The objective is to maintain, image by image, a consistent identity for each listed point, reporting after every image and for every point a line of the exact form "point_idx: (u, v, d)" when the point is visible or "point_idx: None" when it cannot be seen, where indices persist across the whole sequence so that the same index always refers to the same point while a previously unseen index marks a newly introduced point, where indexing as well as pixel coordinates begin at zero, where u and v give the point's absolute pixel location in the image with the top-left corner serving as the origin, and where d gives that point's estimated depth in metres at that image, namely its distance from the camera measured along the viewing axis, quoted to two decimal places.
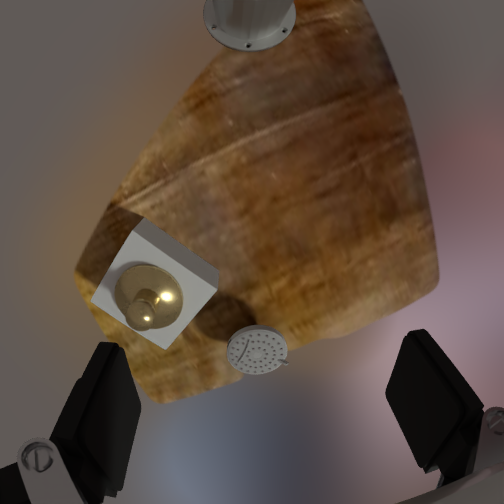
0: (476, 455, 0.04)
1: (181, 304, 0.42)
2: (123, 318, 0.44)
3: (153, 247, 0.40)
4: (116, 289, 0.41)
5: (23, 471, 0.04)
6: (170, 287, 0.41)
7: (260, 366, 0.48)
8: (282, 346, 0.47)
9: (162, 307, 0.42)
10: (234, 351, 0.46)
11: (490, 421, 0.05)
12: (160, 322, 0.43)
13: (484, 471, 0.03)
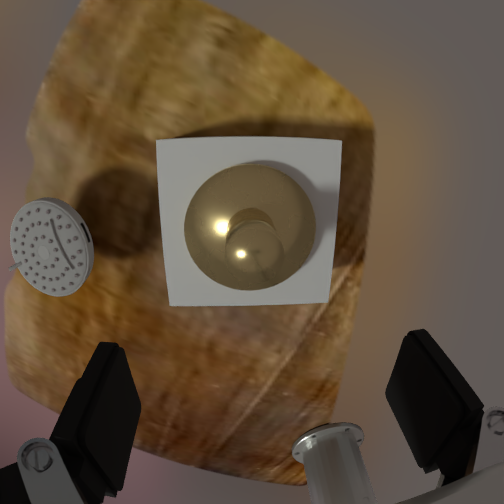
0: (476, 455, 0.04)
1: (196, 262, 0.24)
2: (267, 148, 0.22)
3: (288, 301, 0.27)
4: (310, 211, 0.23)
5: (23, 471, 0.04)
6: (230, 276, 0.25)
7: (25, 236, 0.23)
8: (37, 285, 0.25)
9: (219, 236, 0.24)
10: (69, 232, 0.23)
11: (490, 421, 0.05)
12: (203, 204, 0.23)
13: (484, 471, 0.03)
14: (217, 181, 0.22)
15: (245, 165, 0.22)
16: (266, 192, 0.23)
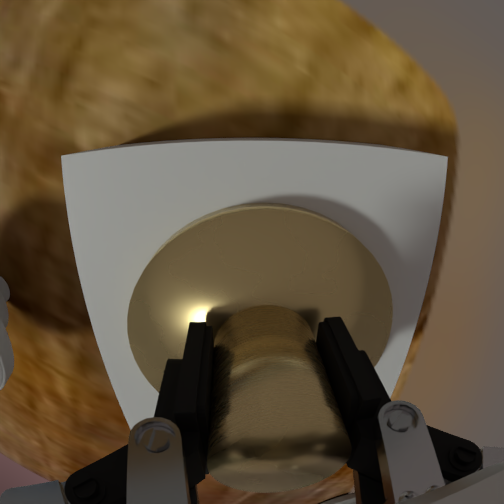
0: (388, 463, 0.05)
1: None
2: (303, 168, 0.10)
3: None
4: (385, 304, 0.11)
5: (141, 454, 0.05)
6: None
7: None
8: None
9: None
10: None
11: (389, 419, 0.06)
12: (161, 298, 0.10)
13: (484, 471, 0.03)
14: (188, 249, 0.10)
15: (253, 211, 0.09)
16: (301, 272, 0.10)
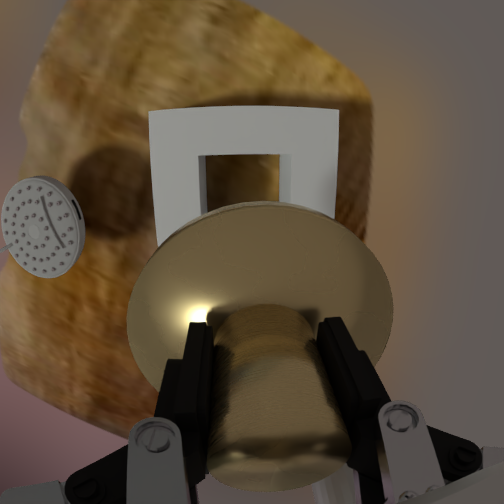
0: (388, 463, 0.05)
1: None
2: (262, 117, 0.21)
3: None
4: (386, 302, 0.11)
5: (141, 454, 0.05)
6: None
7: (15, 216, 0.22)
8: (27, 267, 0.24)
9: None
10: (60, 209, 0.22)
11: (389, 419, 0.06)
12: (161, 297, 0.10)
13: (484, 471, 0.03)
14: (188, 248, 0.09)
15: None
16: (301, 271, 0.10)
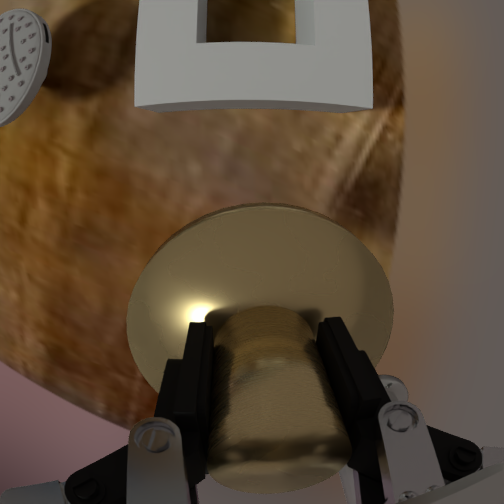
0: (388, 463, 0.05)
1: None
2: None
3: (315, 98, 0.16)
4: (386, 304, 0.11)
5: (141, 454, 0.05)
6: None
7: None
8: None
9: None
10: (27, 31, 0.12)
11: (389, 419, 0.06)
12: (161, 298, 0.10)
13: (484, 471, 0.03)
14: (187, 250, 0.09)
15: (253, 211, 0.09)
16: (301, 272, 0.10)
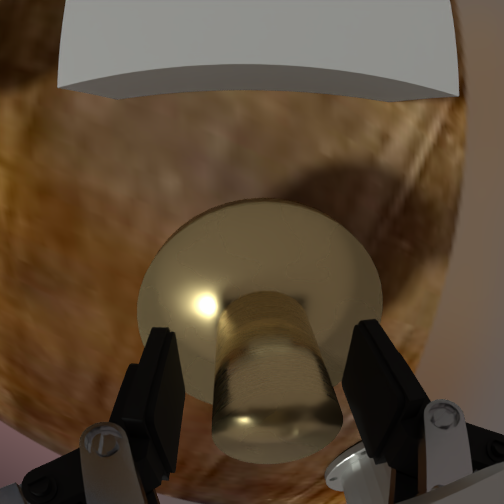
0: (426, 456, 0.05)
1: None
2: None
3: (375, 68, 0.08)
4: (375, 291, 0.12)
5: (89, 457, 0.05)
6: None
7: None
8: None
9: (204, 338, 0.12)
10: None
11: (433, 416, 0.06)
12: (169, 284, 0.11)
13: (484, 471, 0.03)
14: (195, 239, 0.11)
15: (254, 205, 0.10)
16: (297, 260, 0.11)
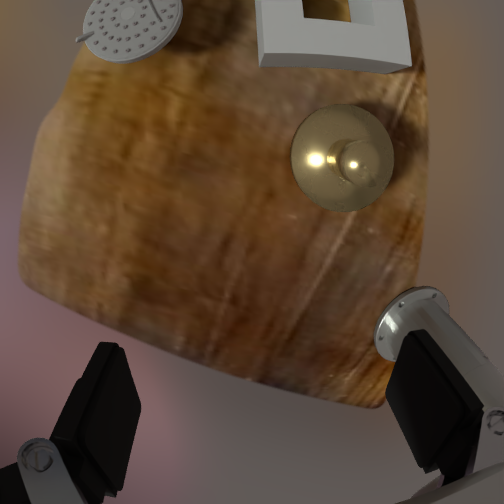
0: (476, 455, 0.04)
1: (301, 186, 0.27)
2: None
3: (378, 57, 0.22)
4: (389, 143, 0.26)
5: (23, 471, 0.04)
6: (329, 199, 0.28)
7: (108, 4, 0.19)
8: (106, 52, 0.21)
9: (321, 162, 0.26)
10: None
11: (490, 421, 0.05)
12: (308, 134, 0.26)
13: (484, 471, 0.03)
14: (319, 116, 0.25)
15: (340, 104, 0.25)
16: (357, 126, 0.25)
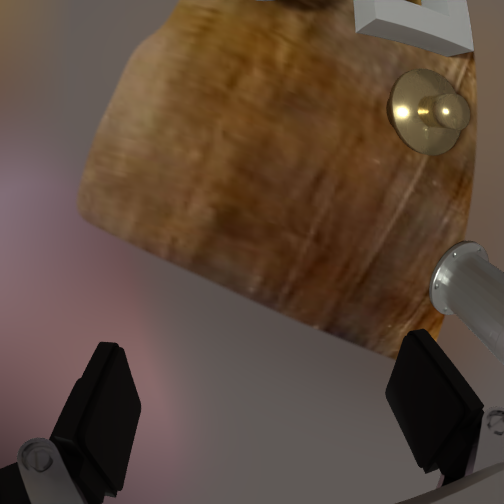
0: (476, 455, 0.04)
1: (399, 127, 0.28)
2: None
3: (452, 40, 0.24)
4: None
5: (23, 471, 0.04)
6: (418, 142, 0.29)
7: None
8: None
9: (413, 110, 0.28)
10: None
11: (490, 421, 0.05)
12: (405, 87, 0.27)
13: (484, 471, 0.03)
14: (413, 75, 0.26)
15: (426, 69, 0.26)
16: (438, 88, 0.27)
